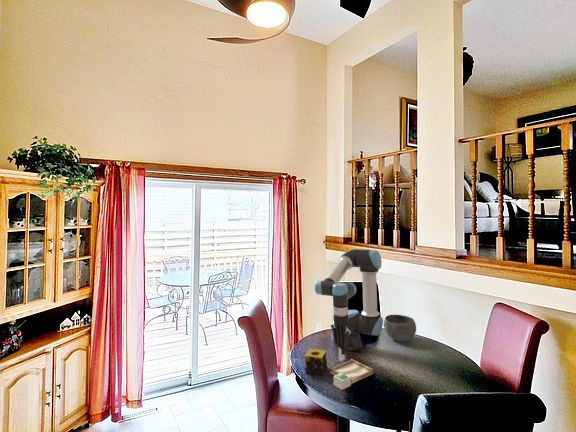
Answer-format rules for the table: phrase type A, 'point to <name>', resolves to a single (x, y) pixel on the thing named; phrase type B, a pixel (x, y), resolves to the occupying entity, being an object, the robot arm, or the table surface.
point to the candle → (316, 362)
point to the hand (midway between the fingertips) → (341, 359)
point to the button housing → (342, 382)
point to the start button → (341, 376)
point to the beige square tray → (352, 370)
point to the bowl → (400, 327)
